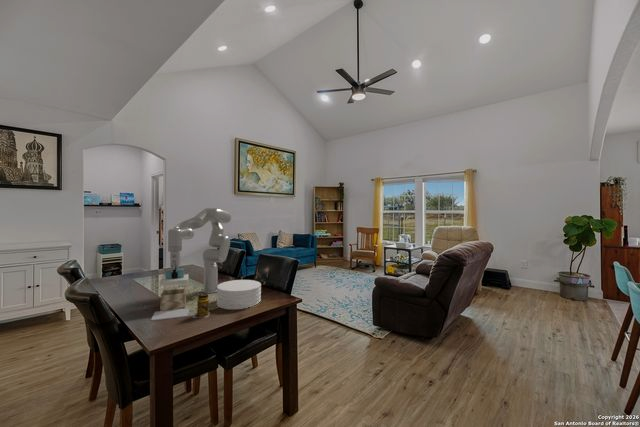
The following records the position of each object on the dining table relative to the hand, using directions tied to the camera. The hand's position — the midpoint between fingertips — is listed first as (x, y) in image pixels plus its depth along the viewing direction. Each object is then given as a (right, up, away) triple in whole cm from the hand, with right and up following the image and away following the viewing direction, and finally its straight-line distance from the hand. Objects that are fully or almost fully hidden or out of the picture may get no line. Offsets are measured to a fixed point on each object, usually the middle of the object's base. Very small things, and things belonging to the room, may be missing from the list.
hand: (174, 277), depth 171 cm
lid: (0, -2, 0) cm, 2 cm away
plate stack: (+37, -19, +10) cm, 43 cm away
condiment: (+23, -19, -14) cm, 33 cm away
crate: (0, -18, 0) cm, 18 cm away
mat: (+5, -18, -14) cm, 24 cm away
